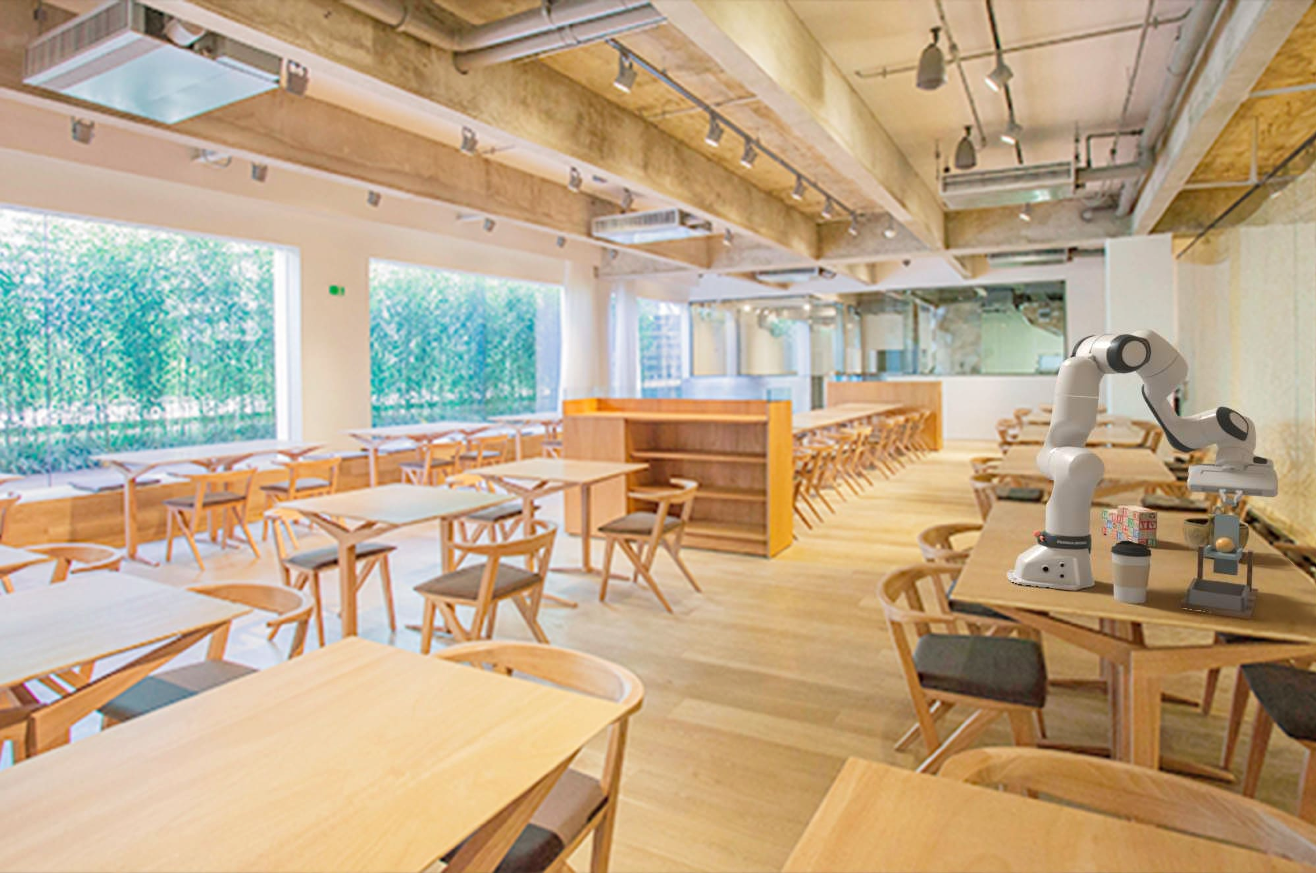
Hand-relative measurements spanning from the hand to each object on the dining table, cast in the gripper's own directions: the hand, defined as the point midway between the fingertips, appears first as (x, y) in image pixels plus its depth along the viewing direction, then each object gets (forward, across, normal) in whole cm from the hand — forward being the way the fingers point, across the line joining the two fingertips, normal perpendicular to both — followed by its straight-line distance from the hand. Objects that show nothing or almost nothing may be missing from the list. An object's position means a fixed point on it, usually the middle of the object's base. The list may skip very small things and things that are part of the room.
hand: (1229, 504), depth 209 cm
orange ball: (+14, 0, -1) cm, 14 cm away
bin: (+32, 0, -2) cm, 32 cm away
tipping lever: (+21, 0, +4) cm, 21 cm away
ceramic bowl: (-11, -6, +43) cm, 45 cm away
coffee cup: (+38, -18, -5) cm, 42 cm away
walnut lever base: (+29, 0, +3) cm, 29 cm away
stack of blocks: (-18, -31, +51) cm, 62 cm away
